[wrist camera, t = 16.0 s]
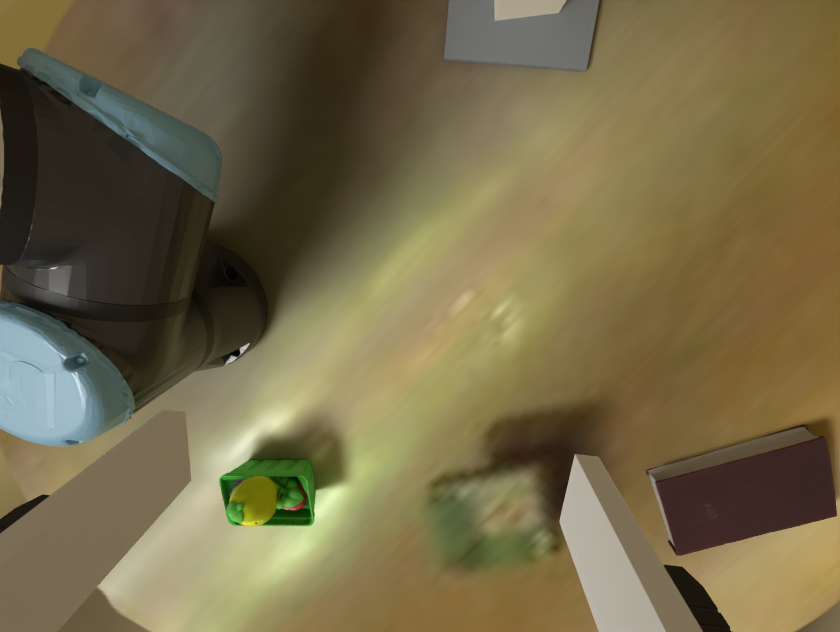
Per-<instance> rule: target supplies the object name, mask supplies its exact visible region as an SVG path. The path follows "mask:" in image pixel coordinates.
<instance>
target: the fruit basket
mask: <svg viewBox="0 0 840 632" xmlns="http://www.w3.org/2000/svg"><path fill="white" fill-rule="evenodd" d="M311 465H312V462H311V460H309V459H306V460H298V461H296V460H281V461H278V460H264V461H259V460H248V461H247V462H245V463H244V464H242V465H241V466H239V467H237V468H236V469H234V470H233V471H231V472H230V473H227V474H225V475H223V476H221V477H220V479H219V483H220V486H221V492H222V497H223V501H224V506H225V510H226V515H227V518H228V521H229V523H230V524H232V525H234V526H311V525H312V524H313V523H314V515H315V514H314V504H315V494H316V488H315V486H314V475H313V470H312V468H311Z"/></svg>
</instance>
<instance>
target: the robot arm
mask: <svg viewBox="0 0 840 632" xmlns="http://www.w3.org/2000/svg"><path fill="white" fill-rule="evenodd" d="M17 64H18V65H19V66H20V67H21V68H20V69H14V68H12V67H9V66H6V65H3V64H0V265H3V270H2V280H1V290H0V428H1V429H3V430H4V431H6V432H8V433H10V434H12V435H14V436H17V437H19V438H21V439H24V440H27V441H30V442H33V443H37V444H42V445H49V446H72V445H77V444H80V443H84V442H87V441H90V440H92V439H94V438H96V437H98V436H100V435H101V434H103V433H105V432H107V431H109V430H110V429H112V428H114V427H116V426H120V425H122V424H124V423H125V422H127V421H128V420H129V419H130V418H131V415H133V414H134V413H136V412H137V411H139V410H140V409H141V408H143V407H144V406H146V405H147V404H149V403H150V402H151V401H153V400H154V399H156V398H157V397H159V396H160V395H161V394H163V393H164V392H166V391H167V390H169V389H170V388H171V387H173V386H174V385H176V384H177V383H179V382H180V381H181V380H183V379H184V378H186V377H187V376H189V375H190V374H191V373H193V372H194V371H200V370H206V369H211V368H217V367H221V366H225V365H227V364H230V363H232V362H234V361H236V360H237V359H239V358H240V357H242V356H243V355H244V354H246V353H247V352H248V351H249V350H251V349H252V348H253V347H254V346H255V344H256V343H257V342H258V340H259V339H260V337H261V335H262V333H263V331H264V328H265V324H266V319H267V304H266V298H265V294H264V291H263V288H262V286H261V284H260V282H259V280H258V278H257V277H256V275H255V273H254V272H253V271H252V269H251V268H250V267H249V266H248V265H247V264H246V263H245V262H244V261H243V260H242V259H241V258H240V257H239V256H237V255H236V254H234V253H233V252H231V251H230V250H228V249H226V248H224V247H221V246H219V245H216V244H213V243H209V242H205V241H206V237H207V233H208V229H209V225H210V221H211V216H212V212H213V208H214V204H215V203H216V204H217V203H218V197H217V195H216V194H217V188H218V183H219V177H220V172H221V167H222V154H221V151H220V149H219V147H218V145H217V144H216V142H215V141H214V140H213V139H212V138H211V137H210V136H208V135H207V134H205V133H204V132H202V131H200V130H198V129H196V128H194V127H192V126H190V125H188V124H186V123H184V122H182V121H180V120H178V119H176V118H174V117H172V116H171V115H169V114H167V113H165V112H163V111H161V110H159V109H157V108H155V107H153V106H151V105H149V104H147V103H145V102H142V101H140V100H138V99H136V98H134V97H132V96H130V95H129V94H127V93H125V92H123V91H121V90H119V89H117V88H115V87H113V86H111V85H109V84H107V83H105V82H103V81H101V80H99V79H97V78H95V77H93V76H91V75H88V74H86V73H84V72H82V71H80V70H78V69H76V68H74V67H72V66H70V65H68V64H66V63H64V62H62V61H60V60H58V59H56V58H54V57H52V56H50V55H48V54H46V53H44V52H42V51H40V50H37V49H35V48H28V49H26V50H25V51H24V53H23V55H22V56H20V57H18V59H17ZM190 481H191V472H190V460H189V449H188V437H187V426H186V414H185V412H181V411H171V410H162V411H161V412H159V413H158V414H157V415H155V416H154V417H153V418H151V419H150V420H149V421H148V422H146V423H145V424H144V425H142V426H141V427H140V428H138V429H137V430H136V431H134V432H133V433H132V434H130V435H129V436H128V437H127V438H125V439H124V440H123V441H121V442H120V443H119V444H117V445H116V446H115V447H113V448H112V449H111V450H109V451H108V452H107V453H105V454H104V455H103V456H102V457H100V458H99V459H98V460H96V461H95V462H94V463H92V464H91V465H90V466H88V467H87V468H86V469H84V470H83V471H82V472H81V473H79V474H78V475H77V476H75V477H74V478H73V479H71V480H70V481H69V482H67V483H66V484H65V485H63V486H62V487H61V488H60V489H58V490H57V491H56V492H54V493H53V494H52V495H41V496H39V497H37V498H35V499H33V500H31V501H29V502H27V503H25V504H23V505H21V506H19V507H17V508H15V509H14V510H12V511H11V512H9V513H8V514H7V515H6V516H4V517H3V518H1V519H0V632H57V631H58V630H59V629H60V628H61V627H62V625H63V624H64V623H65V622H66V621H67V620H68V619H69V617H70V616H71V615H72V614H73V613H74V612H75V611H76V610H77V609H78V607H79V606H80V605H81V604H82V603H83V602H84V601H85V599H86V598H87V597H88V596H89V595H90V594H91V593H92V591H93V590H94V589H95V588H96V587H97V586H98V585H99V584H100V583H101V581H102V580H103V579H104V578H105V577H106V576H107V575H108V574H109V572H110V571H111V570H112V569H113V568H114V567H115V566H116V565H117V563H118V562H119V561H120V560H121V559H122V558H123V557H124V556H125V554H126V553H127V552H128V551H129V550H130V549H131V548H132V547H133V545H134V544H135V543H136V542H137V541H138V540H139V539H140V538H141V536H142V535H143V534H144V533H145V532H146V531H147V530H148V528H149V527H150V526H151V525H152V524H153V523H154V522H155V521H156V519H157V518H158V517H159V516H160V515H161V514H162V513H163V512H164V510H165V509H166V508H167V507H168V506H169V505H170V504H171V503H172V501H173V500H174V499H175V498H176V497H177V496H178V495H179V494H180V492H181V491H182V490H183V489H184V488H185V487H186V486H187V485H188V483H189V482H190ZM560 525H561V528H562V531H563V533H564V536H565V539H566V542H567V544H568V547H569V550H570V553H571V556H572V558H573V561H574V564H575V567H576V570H577V572H578V575H579V578H580V581H581V584H582V586H583V589H584V592H585V595H586V597H587V600H588V603H589V606H590V609H591V611H592V614H593V617H594V620H595V623H596V625H597V628H598V631H599V632H731V631H730V626H729V625H728V623H727V622H726V620H725V619H724V617H723V616H722V614H721V613H718V610H717V609H718V608H717V607H716V605H715V604H714V602H713V601H712V599H711V598H710V596H709V595H708V593H707V592H706V590H705V589H704V587H703V586H702V585H701V584H700V583H699V582H698V581H697V580H695V579H694V578H693V577H692V576H691V575H690V574H689V573H688V572H687V571H686V570H685V569H684V568H683V567H679V566H670V565H663V564H662V562H661V561H660V559H659V557H658V556H657V554H656V552H655V551H654V549H653V547H652V546H651V544H650V542H649V541H648V539H647V537H646V536H645V534H644V532H643V531H642V529H641V527H640V526H639V524H638V522H637V521H636V519H635V517H634V516H633V514H632V512H631V511H630V509H629V507H628V506H627V504H626V502H625V501H624V499H623V497H622V495H621V494H620V492H619V490H618V489H617V487H616V485H615V484H614V482H613V480H612V479H611V477H610V475H609V474H608V472H607V470H606V469H605V467H604V465H603V464H602V462H601V460H600V459H599V457H596V456H586V455H577V454H575V456H574V461H573V465H572V469H571V474H570V478H569V482H568V487H567V491H566V495H565V500H564V504H563V508H562V513H561V517H560Z"/></svg>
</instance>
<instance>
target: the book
mask: <svg viewBox="0 0 840 632" xmlns="http://www.w3.org/2000/svg"><path fill="white" fill-rule="evenodd" d="M646 473H647V475H648V474H649V476H650V479H651V482H652V485H653V488H654V491H655V494H656V497H657V500H658V503H659V507H660V510H661V513H662V516H663V519H664V522H665V525H666V528H667V531H668V534H669V538H670V540H669V541H668V542H669V544H670V546H671V547H672V549H673V551H674V552H675V554H676V555H685V554H689V553H692V552H696V551H700V550H704V549H708V548H712V547H716V546H720V545H724V544H726V543H731V542H736V541H740V540H743V539H747V538H750V537H754V536H759V535H762V534H766V533H769V532H775V531H779V530H783V529H788V528H792V527H796V526H800V525H804V524H808V523H811V522H816V521H820V520H824V519H827V518H831V517H835V516H837V511H836V500H835V491H834V484H833V477H832V469H831V462H830V457H829V452H828V446H827V442H826V438H825V437H823V436H820V437H817V436H816V435H814V434H813V433H811V432H809V431H808V427H807V426H806V425H801V426H797V427H793V428H789V429H786V430H783V431H780V432H776V433H773V434H769V435H766V436H764V437H760V438H757V439H754V440H751V441H747V442H744V443H741V444H738V445H734V446H731V447H728V448H724V449H721V450H718V451H714V452H711V453H707V454H704V455H701V456H697V457H694V458H690V459H687V460H683V461H680V462H677V463H673V464H669V465H664V466H660V467H656V468H651V469H648V470H646Z"/></svg>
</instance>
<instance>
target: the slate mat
mask: <svg viewBox="0 0 840 632" xmlns="http://www.w3.org/2000/svg"><path fill="white" fill-rule="evenodd" d="M598 5H599V0H566V2H565V4H564V5H563V7H562V9H561V10H560V12H559V13H554V14H546V15H538V16H530V17H522V18H514V19H506V20H498V21H495V10H494V0H449V7H448V17H447V28H446V39H445V50H444V60H447V61H459V62H471V63H483V64H495V65H508V66H520V67H532V68H544V69H557V70H569V71H581V72H585V71H586V70H587V65H588V60H589V54H590V49H591V43H592V38H593V32H594V27H595V21H596V16H597V10H598Z"/></svg>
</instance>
